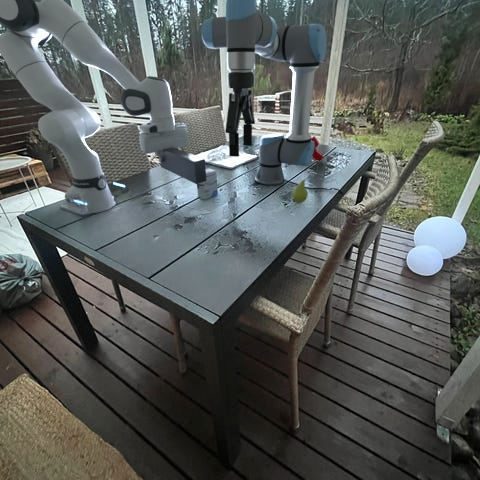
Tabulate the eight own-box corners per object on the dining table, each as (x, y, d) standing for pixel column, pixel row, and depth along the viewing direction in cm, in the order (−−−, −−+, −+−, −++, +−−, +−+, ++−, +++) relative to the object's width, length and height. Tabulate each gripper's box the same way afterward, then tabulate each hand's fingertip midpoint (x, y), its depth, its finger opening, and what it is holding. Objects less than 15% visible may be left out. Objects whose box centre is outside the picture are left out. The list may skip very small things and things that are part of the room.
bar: (206, 181, 101) (205, 159, 97) (196, 184, 99) (194, 161, 94) (170, 164, 118) (167, 145, 114) (160, 167, 115) (157, 147, 111)
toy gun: (327, 156, 170) (314, 135, 166) (326, 157, 167) (314, 136, 163) (301, 171, 180) (289, 151, 176) (301, 173, 177) (288, 153, 173)
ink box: (211, 191, 132) (209, 167, 125) (218, 194, 129) (216, 170, 122) (197, 196, 127) (194, 172, 120) (204, 199, 124) (201, 174, 117)
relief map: (231, 168, 161) (231, 160, 158) (189, 159, 179) (189, 151, 176) (257, 158, 179) (257, 150, 176) (217, 150, 197) (216, 142, 194)
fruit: (288, 200, 123) (290, 174, 116) (302, 197, 125) (305, 172, 119) (296, 206, 118) (299, 179, 111) (310, 203, 120) (314, 177, 114)
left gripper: (181, 120, 114) (185, 154, 121) (134, 127, 102) (142, 163, 109) (190, 123, 110) (193, 157, 117) (142, 129, 98) (149, 167, 106)
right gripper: (242, 70, 85) (242, 140, 97) (210, 72, 65) (215, 160, 77) (265, 70, 83) (262, 142, 95) (239, 72, 63) (240, 162, 75)
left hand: (168, 160), depth 113 cm, fingers closed on bar, 4 cm apart
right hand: (241, 150), depth 86 cm, fingers open, 13 cm apart
